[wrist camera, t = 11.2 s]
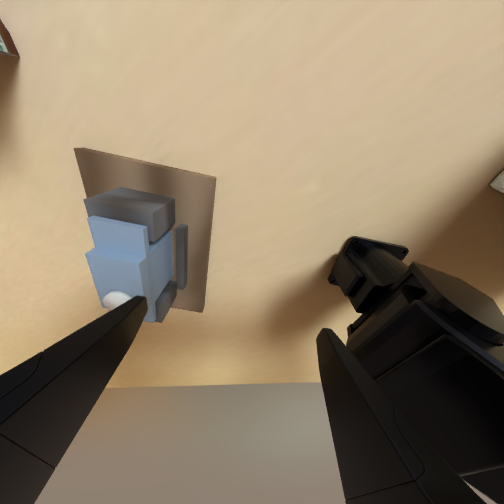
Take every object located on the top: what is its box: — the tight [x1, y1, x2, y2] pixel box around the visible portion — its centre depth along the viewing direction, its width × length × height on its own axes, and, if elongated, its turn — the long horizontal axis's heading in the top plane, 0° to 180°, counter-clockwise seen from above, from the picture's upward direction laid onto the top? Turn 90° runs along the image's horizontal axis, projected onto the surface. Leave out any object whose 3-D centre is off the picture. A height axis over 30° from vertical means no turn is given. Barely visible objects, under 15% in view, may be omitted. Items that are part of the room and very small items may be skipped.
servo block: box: [85, 216, 173, 323], centre depth 18 cm, size 4×11×7 cm, turn 168°
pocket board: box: [74, 148, 216, 323], centre depth 19 cm, size 12×18×5 cm, turn 168°
